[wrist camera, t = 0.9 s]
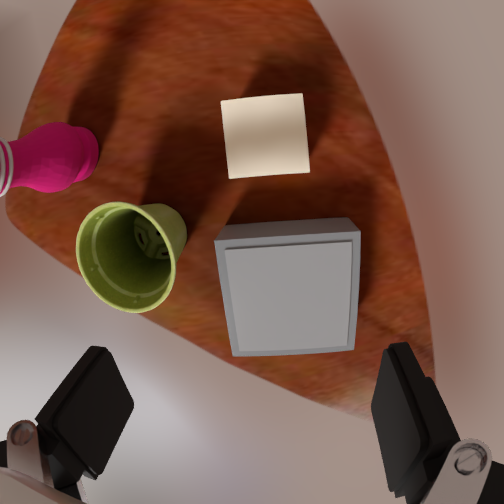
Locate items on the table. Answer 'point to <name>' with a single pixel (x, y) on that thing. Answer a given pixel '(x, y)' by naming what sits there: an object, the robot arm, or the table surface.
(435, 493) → the robot arm
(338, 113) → the table surface
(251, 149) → the birch block
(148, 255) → the plant pot
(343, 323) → the slate stand
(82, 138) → the pepper mill
